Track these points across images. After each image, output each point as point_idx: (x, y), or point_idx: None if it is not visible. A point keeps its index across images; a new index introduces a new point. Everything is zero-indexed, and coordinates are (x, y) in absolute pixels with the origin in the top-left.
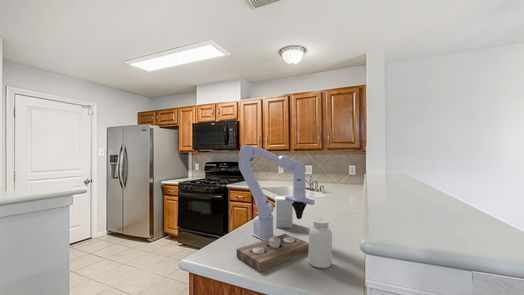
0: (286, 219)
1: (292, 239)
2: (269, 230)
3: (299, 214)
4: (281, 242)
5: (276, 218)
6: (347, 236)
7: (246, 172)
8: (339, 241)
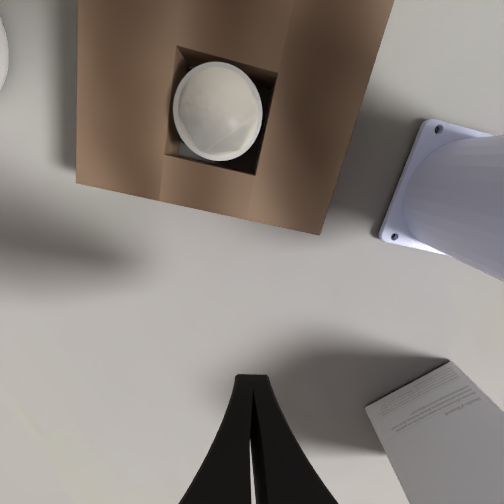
0: (424, 437)
1: (199, 141)
2: (449, 178)
3: (224, 415)
4: (248, 40)
5: (498, 410)
6: (82, 456)
7: None
8: (71, 387)
